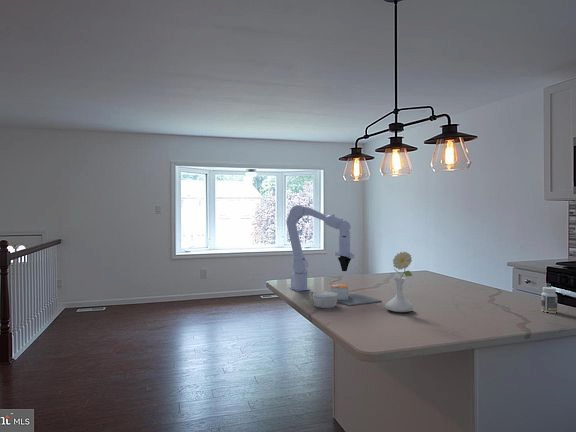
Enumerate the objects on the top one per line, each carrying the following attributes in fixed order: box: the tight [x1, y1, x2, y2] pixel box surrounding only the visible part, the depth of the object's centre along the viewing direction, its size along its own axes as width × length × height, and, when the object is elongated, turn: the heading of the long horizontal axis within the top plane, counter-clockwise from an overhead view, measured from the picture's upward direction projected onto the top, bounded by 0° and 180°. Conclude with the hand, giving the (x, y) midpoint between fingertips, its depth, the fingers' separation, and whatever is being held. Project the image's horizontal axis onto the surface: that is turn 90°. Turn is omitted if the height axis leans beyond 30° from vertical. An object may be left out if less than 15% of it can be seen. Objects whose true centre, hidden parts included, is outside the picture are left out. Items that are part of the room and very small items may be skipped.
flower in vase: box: [384, 251, 415, 313], centre depth 167 cm, size 13×11×25 cm
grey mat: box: [337, 292, 382, 307], centre depth 188 cm, size 18×18×1 cm
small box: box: [330, 283, 349, 300], centre depth 189 cm, size 8×6×10 cm
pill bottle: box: [540, 286, 558, 314], centre depth 167 cm, size 6×6×10 cm
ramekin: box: [312, 290, 338, 309], centre depth 176 cm, size 11×11×5 cm
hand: (344, 271), depth 207 cm, fingers closed
